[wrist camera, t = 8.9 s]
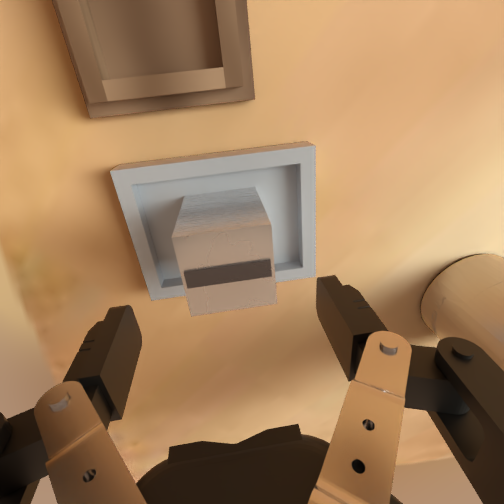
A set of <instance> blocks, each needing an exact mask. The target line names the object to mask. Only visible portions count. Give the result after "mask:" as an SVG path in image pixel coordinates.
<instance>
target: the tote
mask: <svg viewBox="0 0 504 504" xmlns="http://www.w3.org/2000/svg"><path fill="white" fill-rule="evenodd" d="M110 173H111V176H112V180H113V183H114V186H115V189H116V192H117V195H118V198H119V201H120V204H121V207H122V211H123V214H124V217H125V220H126V223H127V226H128V229H129V232H130V235H131V238H132V242H133V245H134V248H135V251H136V254H137V257H138V260H139V263H140V266H141V270H142V273H143V276H144V279H145V282H146V285H147V288H148V291H149V294H150V297H151V301H152V300H159V299H166V298H173V297H179V296H186V294H185V290H184V286H183V282H182V278H181V274H180V270H179V266H178V262H177V258H176V254H175V250H174V246H173V242H172V238H171V237H172V234H173V231H174V228H175V225H176V222H177V218H178V215H179V212H180V209H181V206H182V202H183V199H184V196H188V195H196V194H204V193H211V192H219V191H227V190H235V189H242V188H250V187H255V188H256V190H257V192H258V194H259V197H260V199H261V201H262V204H263V206H264V208H265V211H266V213H267V215H268V218H269V220H270V222H271V226H272V239H273V252H274V265H275V279H276V282H283V281H289V280H296V279H303V278H310V277H316V146H315V145H313V144H311V143H309V142H307V141H306V142H298V143H290V144H281V145H273V146H265V147H257V148H249V149H241V150H233V151H225V152H217V153H209V154H201V155H192V156H184V157H176V158H168V159H160V160H152V161H144V162H136V163H128V164H120V165H118V166H116V167H115V168H113V169H112V170H111V171H110Z"/></svg>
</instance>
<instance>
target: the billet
mask: <svg viewBox="0 0 504 504" xmlns="http://www.w3.org/2000/svg"><path fill="white" fill-rule="evenodd" d="M171 238H172V242H173V246H174V250H175V254H176V258H177V262H178V266H179V270H180V274H181V278H182V282H183V286H184V290H185V294H186V298H187V302H188V305H189V309H190V313H191V316H197V315H204V314H211V313H218V312H224V311H231V310H238V309H244V308H251V307H258V306H265V305H271V304H277V292H276V279H275V265H274V252H273V239H272V226H271V222H270V220H269V218H268V215H267V213H266V211H265V208H264V206H263V204H262V201H261V199H260V197H259V194H258V192H257V190H256V188H255V187H250V188H242V189H235V190H227V191H219V192H211V193H204V194H196V195H188V196H184V199H183V202H182V206H181V209H180V212H179V215H178V218H177V222H176V225H175V228H174V231H173V234H172V237H171Z"/></svg>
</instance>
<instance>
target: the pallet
mask: <svg viewBox="0 0 504 504" xmlns="http://www.w3.org/2000/svg"><path fill="white" fill-rule="evenodd" d="M52 2H53V5H54V8H55V11H56V14H57V17H58V20H59V23H60V26H61V29H62V33H63V36H64V39H65V42H66V45H67V48H68V51H69V54H70V57H71V60H72V63H73V66H74V69H75V72H76V76H77V79H78V82H79V85H80V88H81V91H82V94H83V97H84V100H85V103H86V106H87V109H88V112H89V115H90V118H97V117H106V116H115V115H123V114H132V113H140V112H149V111H158V110H166V109H175V108H184V107H192V106H201V105H209V104H218V103H227V102H235V101H244V100H253V99H255V93H254V81H253V69H252V58H251V46H250V34H249V23H248V11H247V0H52Z"/></svg>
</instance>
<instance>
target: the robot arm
mask: <svg viewBox="0 0 504 504" xmlns="http://www.w3.org/2000/svg"><path fill="white" fill-rule="evenodd" d="M316 309H317V314H318V318H319V320H320V322H321V324H322V327H323V329H324V331H325V333H326V335H327V337H328V339H329V341H330V343H331V345H332V348H333V350H334V352H335V354H336V356H337V358H338V360H339V362H340V364H341V366H342V368H343V371H344V373H345V375H346V377H347V379H348V381H351V383H350V386H349V389H348V392H347V395H346V398H345V401H344V404H343V407H342V410H341V413H340V416H339V419H338V422H337V425H336V428H335V431H334V434H333V437H332V440H331V442H330V443H328V442H326V441H324V440H322V439H319V438H316V437H313V436H309V435H303V434H301V432H300V428H299V425H298V424H295V425H289V426H284V427H278V428H273V429H267V430H265V431H263V432H261V433H259V434H256V435H254V436H252V437H250V438H248V439H246V440H244V441H242V442H239V443H237V444H227V443H216V442H206V441H200V442H194V443H188V444H183V445H177V446H172V447H169V456H168V459H167V460H164V461H163V462H161V463H159V464H158V465H156V466H155V467H153V468H152V469H151V470H149V471H148V472H147V473H146V474H145V475H144V476H143V477H142V478H141V479H140V480H139V481H138V482H137V483H135V481H134V479H133V477H132V475H131V474H130V472H129V470H128V468H127V466H126V465H125V463H124V461H123V459H122V457H121V455H120V454H119V452H118V450H117V448H116V446H115V445H114V443H113V441H112V439H111V437H110V435H109V434H108V432H107V429H108V426H109V423H110V421H115V420H121V419H122V416H123V413H124V409H125V405H126V402H127V398H128V394H129V391H130V387H131V383H132V380H133V376H134V372H135V369H136V365H137V361H138V358H139V354H140V350H141V346H142V336H141V332H140V329H139V326H138V323H137V320H136V318H135V315H134V312H133V309H132V307H131V306H130V305H125V306H119V307H112V308H110V309H109V310H108V312H107V315H106V317H105V319H104V321H100V322H97V323H96V324H95V325H94V326H93V327H92V328H91V329H90V330H89V331H88V333H87V335H86V337H85V339H84V341H83V344H82V345H81V347H80V349H79V352H78V353H77V355H76V357H75V359H74V361H73V362H72V364H71V366H70V368H69V370H68V372H67V374H66V376H65V378H64V380H63V382H62V383H60V384H58V385H56V386H54V387H53V388H51V389H50V390H48V391H47V392H46V393H45V394H44V395H43V396H42V397H41V398H40V399H39V400H38V402H37V404H36V406H35V407H34V408H32V409H30V410H28V411H25V412H23V413H20V414H18V415H16V416H13V417H11V418H8V419H6V418H5V417H4V415H3V414H2V413H1V412H0V504H31V501H32V499H33V496H34V494H35V491H36V489H37V486H38V483H39V481H40V479H41V478H43V477H45V476H47V475H49V478H50V481H51V484H52V488H53V491H54V494H55V497H56V500H57V503H58V504H403V503H401V502H400V501H399V500H398V499H397V498H396V497H394V496H393V495H392V494H391V490H392V483H393V477H394V470H395V464H396V457H397V451H398V444H399V438H400V431H401V425H402V418H403V411H404V407H405V408H412V409H419V410H426V411H427V412H428V414H429V415H430V417H431V419H432V420H433V422H434V424H435V425H436V427H437V429H438V430H439V432H440V433H441V435H442V437H443V438H444V440H445V442H446V443H447V445H448V447H449V448H450V450H451V452H452V453H453V455H454V456H455V458H456V460H457V461H458V463H459V465H460V466H461V468H462V470H463V471H464V473H465V474H466V476H467V478H468V479H469V481H470V483H471V484H472V486H473V488H474V489H475V491H476V492H477V494H478V496H479V498H480V499H481V501H482V502H483V504H504V258H503V257H500V256H497V255H494V254H481V255H474V256H471V257H468V258H464V259H462V260H460V261H458V262H456V263H454V264H452V265H451V266H450V267H448V268H447V269H445V270H444V271H443V272H442V273H440V274H439V275H438V276H437V277H436V278H435V279H434V280H433V282H432V283H431V284H430V285H429V287H428V289H427V290H426V292H425V294H424V296H423V299H422V302H421V315H422V318H423V320H424V322H425V323H426V324H427V326H428V327H429V328H430V329H431V330H432V331H433V332H434V333H435V334H436V335H437V336H438V337H439V339H440V341H439V343H438V345H437V348H435V347H424V346H415V345H410V344H409V343H408V341H407V340H406V339H405V338H403V337H402V336H400V335H398V334H396V333H393V332H389V331H388V330H387V328H386V327H385V326H384V324H383V323H382V322H381V320H380V319H379V318H378V316H377V315H376V314H375V312H374V311H373V310H372V308H371V307H370V306H369V304H368V303H367V302H366V301H365V299H364V298H363V296H362V295H361V293H360V292H359V291H358V290H356V289H355V288H353V287H352V286H350V285H344V286H342V284H341V283H340V281H339V280H338V278H337V277H336V276H335V275H333V276H326V277H319V278H317V290H316Z"/></svg>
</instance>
